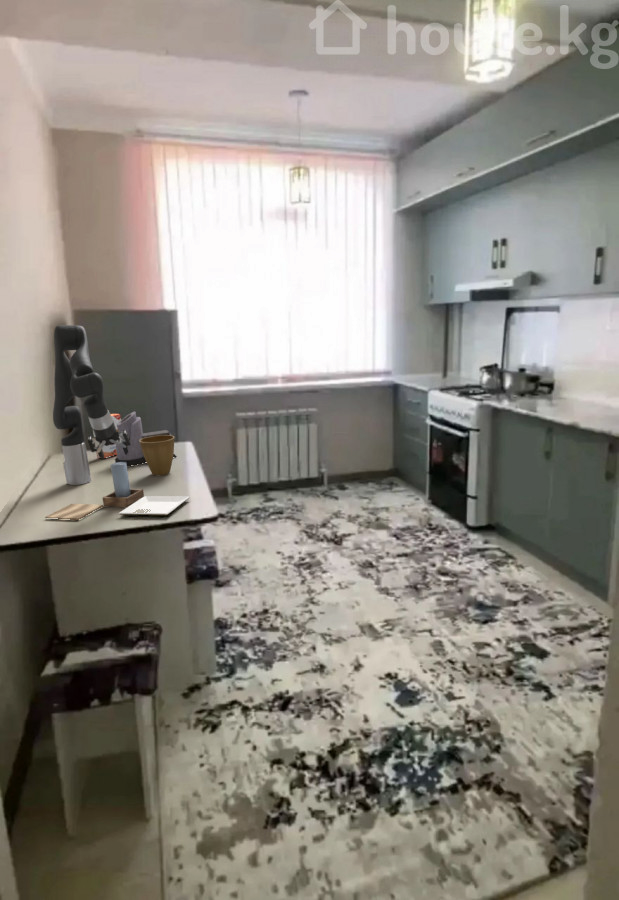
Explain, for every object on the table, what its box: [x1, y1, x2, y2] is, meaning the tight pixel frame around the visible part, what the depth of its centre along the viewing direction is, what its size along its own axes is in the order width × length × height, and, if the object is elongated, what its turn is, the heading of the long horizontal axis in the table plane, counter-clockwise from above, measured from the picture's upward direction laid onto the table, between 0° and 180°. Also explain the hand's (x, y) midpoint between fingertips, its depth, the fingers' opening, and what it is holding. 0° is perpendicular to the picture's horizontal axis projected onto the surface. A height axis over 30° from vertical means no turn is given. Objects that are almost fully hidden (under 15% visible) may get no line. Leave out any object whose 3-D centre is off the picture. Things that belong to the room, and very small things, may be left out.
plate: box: [118, 495, 191, 517], centre depth 205 cm, size 19×19×2 cm
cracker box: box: [92, 413, 122, 459], centre depth 292 cm, size 14×6×21 cm, turn 148°
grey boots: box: [114, 411, 178, 467], centre depth 277 cm, size 30×16×24 cm, turn 114°
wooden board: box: [44, 503, 104, 520], centre depth 207 cm, size 14×14×1 cm
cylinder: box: [110, 462, 131, 498], centre depth 214 cm, size 6×6×15 cm
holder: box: [102, 488, 145, 508], centre depth 215 cm, size 11×11×4 cm
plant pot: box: [139, 434, 175, 476], centre depth 251 cm, size 15×15×16 cm
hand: (115, 455), depth 215 cm, fingers open, 8 cm apart
